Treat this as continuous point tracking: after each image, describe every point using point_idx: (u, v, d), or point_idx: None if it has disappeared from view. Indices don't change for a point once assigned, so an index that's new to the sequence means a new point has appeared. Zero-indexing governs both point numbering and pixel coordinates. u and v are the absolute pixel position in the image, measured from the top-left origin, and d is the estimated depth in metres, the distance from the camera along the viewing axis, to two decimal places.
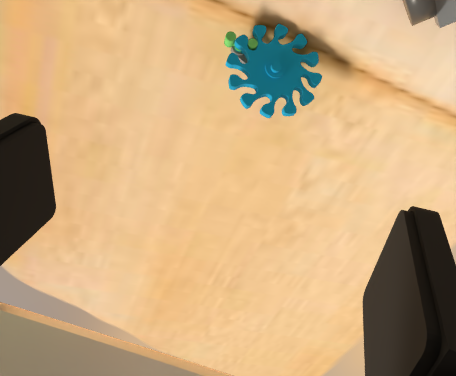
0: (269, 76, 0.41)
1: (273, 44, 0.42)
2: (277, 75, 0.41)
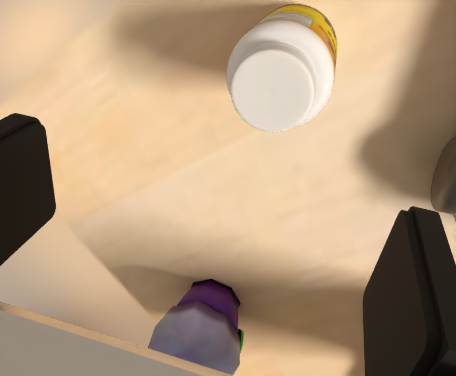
0: None
1: None
2: None
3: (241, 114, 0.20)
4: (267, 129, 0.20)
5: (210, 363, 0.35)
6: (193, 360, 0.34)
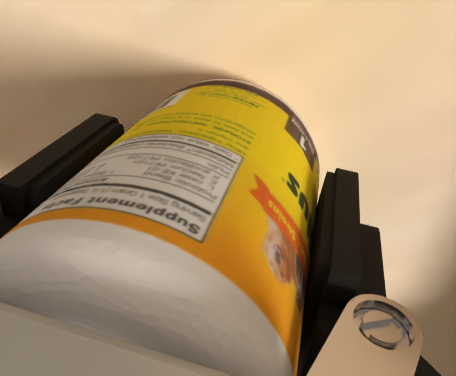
0: None
1: None
2: None
3: None
4: None
5: None
6: None
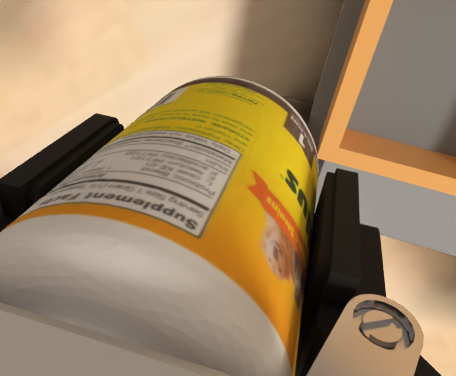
0: None
1: None
2: None
3: None
4: None
5: None
6: None
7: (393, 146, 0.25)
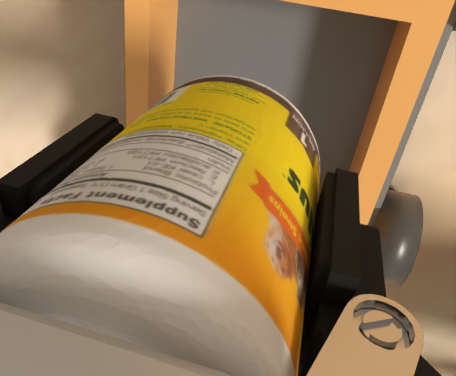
0: None
1: None
2: None
3: None
4: None
5: None
6: None
7: None
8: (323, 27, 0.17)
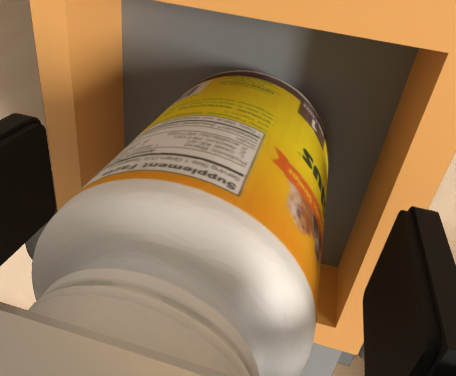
0: None
1: None
2: None
3: None
4: None
5: None
6: None
7: None
8: (316, 49, 0.12)
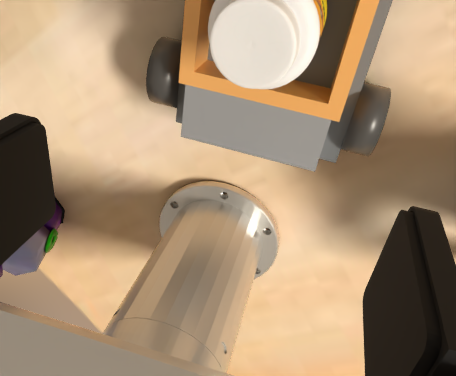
0: None
1: None
2: None
3: (221, 69, 0.19)
4: (248, 86, 0.19)
5: None
6: None
7: None
8: None
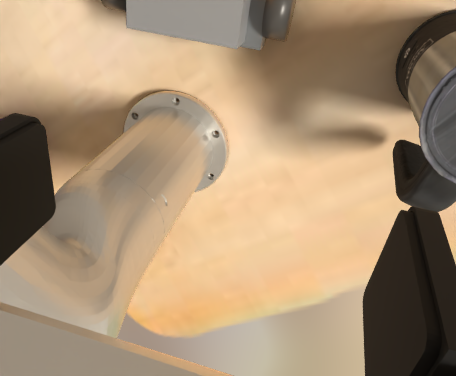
0: None
1: None
2: None
3: None
4: None
5: None
6: None
7: None
8: None
